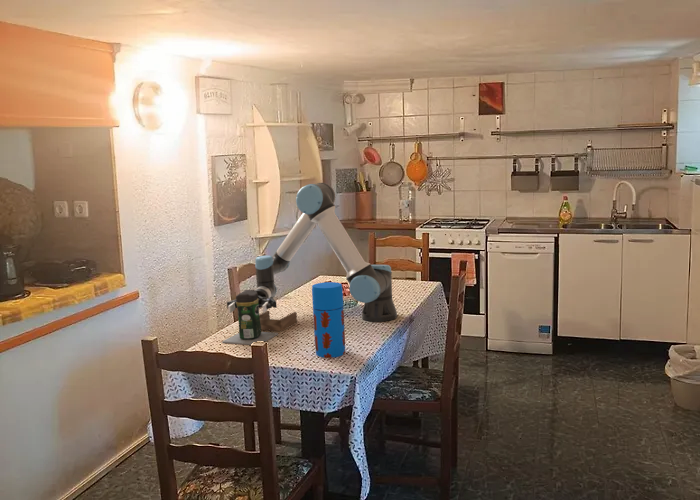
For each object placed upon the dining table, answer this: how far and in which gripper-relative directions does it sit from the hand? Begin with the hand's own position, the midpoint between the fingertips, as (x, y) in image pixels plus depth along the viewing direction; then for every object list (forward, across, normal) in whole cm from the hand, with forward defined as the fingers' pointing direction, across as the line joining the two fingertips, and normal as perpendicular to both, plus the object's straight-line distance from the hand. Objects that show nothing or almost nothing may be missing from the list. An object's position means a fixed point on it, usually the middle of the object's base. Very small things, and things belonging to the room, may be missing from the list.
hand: (246, 309), depth 260 cm
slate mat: (-3, 0, -13) cm, 13 cm away
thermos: (+16, -35, -13) cm, 41 cm away
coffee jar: (-3, 0, -12) cm, 13 cm away
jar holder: (-23, -5, -13) cm, 26 cm away
